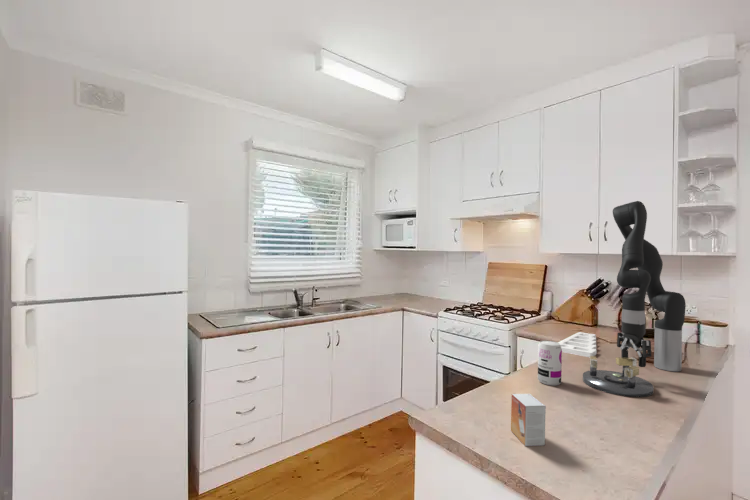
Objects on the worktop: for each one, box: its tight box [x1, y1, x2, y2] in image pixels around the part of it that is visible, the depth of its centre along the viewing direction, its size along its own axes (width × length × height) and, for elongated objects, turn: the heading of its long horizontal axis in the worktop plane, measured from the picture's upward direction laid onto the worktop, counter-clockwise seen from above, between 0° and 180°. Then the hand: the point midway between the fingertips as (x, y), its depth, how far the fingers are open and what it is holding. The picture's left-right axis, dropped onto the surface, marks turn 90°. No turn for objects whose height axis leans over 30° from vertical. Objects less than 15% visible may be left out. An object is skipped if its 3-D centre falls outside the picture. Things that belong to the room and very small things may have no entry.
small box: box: [510, 393, 547, 447], centre depth 97 cm, size 8×6×10 cm
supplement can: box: [537, 340, 563, 387], centre depth 138 cm, size 8×8×15 cm
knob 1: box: [589, 355, 598, 376], centre depth 139 cm, size 6×2×7 cm, turn 152°
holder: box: [557, 331, 597, 358], centre depth 192 cm, size 45×18×3 cm, turn 135°
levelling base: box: [582, 369, 654, 398], centre depth 136 cm, size 22×22×4 cm
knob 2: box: [624, 365, 640, 388], centre depth 128 cm, size 6×2×7 cm, turn 122°
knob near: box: [615, 356, 638, 375], centre depth 140 cm, size 6×2×7 cm, turn 86°
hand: (633, 363), depth 139 cm, fingers open, 8 cm apart
